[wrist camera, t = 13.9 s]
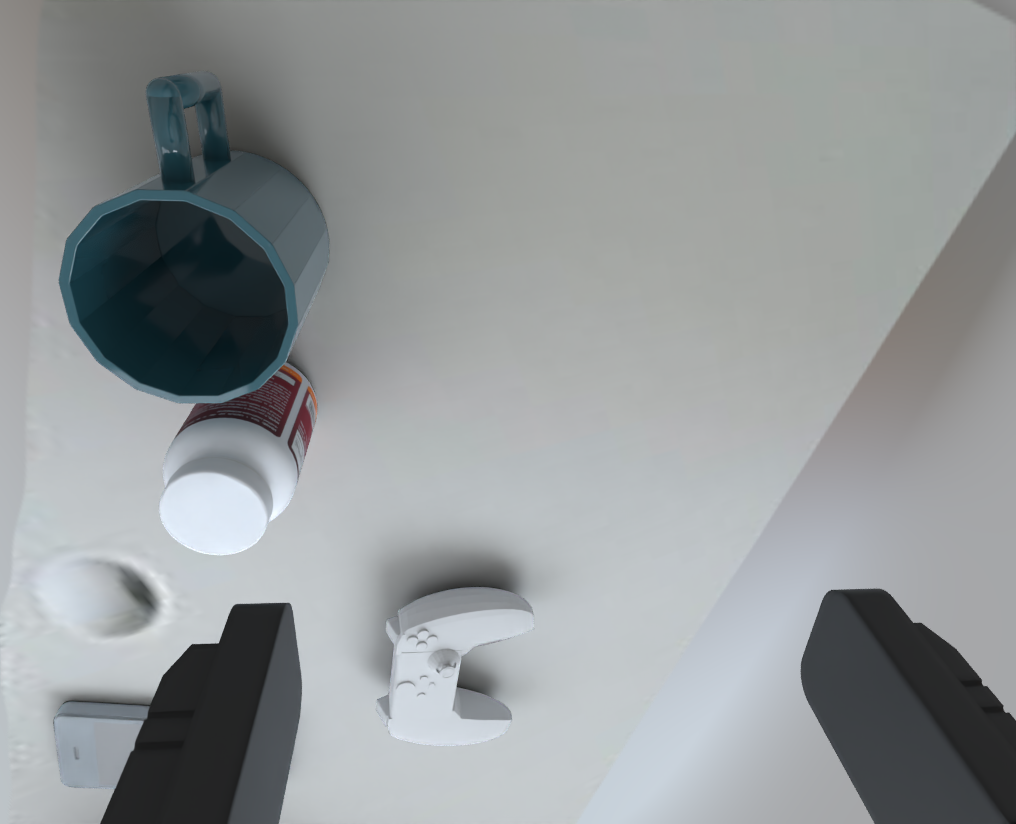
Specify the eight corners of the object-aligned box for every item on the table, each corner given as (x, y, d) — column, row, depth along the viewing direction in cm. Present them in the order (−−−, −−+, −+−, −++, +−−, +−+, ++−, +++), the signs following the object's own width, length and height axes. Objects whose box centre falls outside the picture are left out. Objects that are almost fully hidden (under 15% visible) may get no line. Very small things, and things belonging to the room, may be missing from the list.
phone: (281, 781, 57) (278, 796, 56) (67, 772, 54) (60, 787, 53) (287, 713, 53) (284, 728, 52) (58, 699, 50) (50, 715, 49)
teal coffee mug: (335, 319, 39) (306, 403, 30) (170, 318, 38) (90, 404, 29) (316, 72, 33) (273, 86, 24) (120, 63, 32) (2, 74, 23)
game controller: (512, 752, 53) (379, 776, 50) (495, 703, 57) (371, 723, 53) (546, 610, 46) (396, 626, 43) (525, 565, 50) (385, 577, 47)
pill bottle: (185, 389, 40) (106, 502, 30) (269, 331, 39) (213, 430, 29) (261, 463, 43) (210, 588, 33) (341, 411, 42) (313, 526, 32)
